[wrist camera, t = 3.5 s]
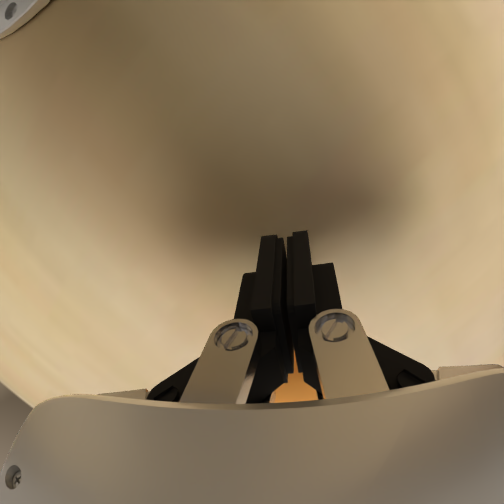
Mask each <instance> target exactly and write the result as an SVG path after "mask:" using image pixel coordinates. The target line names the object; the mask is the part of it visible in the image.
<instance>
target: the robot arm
mask: <svg viewBox="0 0 504 504" xmlns="http://www.w3.org/2000/svg"><path fill="white" fill-rule="evenodd" d="M49 1H50V0H0V39H2V38H4V37H5V36H7V35H9V34H11V33H13V32H14V31H16V30H17V29H18V28H20V27H21V26H22V25H24V24H25V23H26V22H28V21H29V20H30V19H31V18H32V17H33V16H35V15H36V14H37V13H38V12H39V11H40V10H41V9H42V8H43V7H44V6H46V5H47V4H48V3H49ZM294 351H295V356H296V362H297V367H298V373H303V379H304V382H305V383H307V384H308V385H309V386H311V387H312V388H314V389H315V390H316V396H317V400H311V401H299V402H283V403H274V402H275V398H276V391H275V390H276V389H277V388H279V387H280V386H281V385H282V384H283V383H288V374H292V373H294ZM0 504H504V367H502V366H500V365H496V364H488V365H472V366H450V367H439V368H438V370H430V369H429V368H428V367H426V366H425V365H423V364H421V363H419V362H417V361H415V360H413V359H411V358H409V357H407V356H405V355H403V354H401V353H399V352H397V351H395V350H393V349H391V348H389V347H387V346H385V345H383V344H381V343H379V342H378V341H376V340H374V339H372V338H370V337H368V336H367V335H366V333H365V331H364V329H363V326H362V324H361V322H360V320H359V319H358V317H357V316H356V315H355V314H353V313H352V312H350V311H347V310H344V309H342V305H341V300H340V294H339V289H338V284H337V279H336V275H335V270H334V265H333V263H326V264H318V265H312V262H311V254H310V247H309V239H308V232H307V230H306V231H299V232H293V236H291V237H287V257H286V251H285V246H284V240H283V238H278V237H277V235H269V236H262V237H261V243H260V249H259V256H258V262H257V269H256V272H252V273H244V274H243V278H242V282H241V287H240V292H239V297H238V301H237V306H236V311H235V316H234V319H232V320H229V321H225V322H223V323H222V324H220V325H218V326H217V327H216V328H215V329H214V330H213V331H212V333H211V334H210V336H209V338H208V341H207V343H206V345H205V347H204V349H203V351H202V354H201V356H200V357H199V358H197V359H196V360H194V361H193V362H191V363H190V364H188V365H187V366H185V367H184V368H182V369H181V370H179V371H178V372H176V373H175V374H173V375H171V376H170V377H168V378H167V379H165V380H164V381H162V382H161V383H159V384H158V385H156V386H155V387H154V388H153V389H152V390H151V391H149V392H148V390H147V389H139V390H131V391H123V392H114V393H104V394H98V395H89V394H74V395H63V396H59V397H54V398H51V399H48V400H45V401H43V402H41V403H39V404H38V405H37V406H36V407H35V408H34V409H33V410H32V411H31V413H30V414H29V416H28V417H27V419H26V420H25V422H24V424H23V425H22V427H21V429H20V431H19V432H18V434H17V436H16V438H15V440H14V442H13V445H12V447H11V449H10V451H9V453H8V455H7V458H6V460H5V462H4V465H3V468H2V470H1V473H0Z"/></svg>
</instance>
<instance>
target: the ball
mask: <svg viewBox="0 0 504 504" xmlns="http://www.w3.org/2000/svg"><path fill="white" fill-rule="evenodd" d="M275 391H276V398H275V402H274V403H283V402H299V401H311V400H317V396H316V390H315V389H314V388H312V387H311V386H309V385H308V384H307V383H305V382H304V379H303V373H298V367H297V362H296V356H295V351H294V373H292V374H288V383H283V384H282V385H281V386H280V387H279V388H277V389H276V390H275Z"/></svg>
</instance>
